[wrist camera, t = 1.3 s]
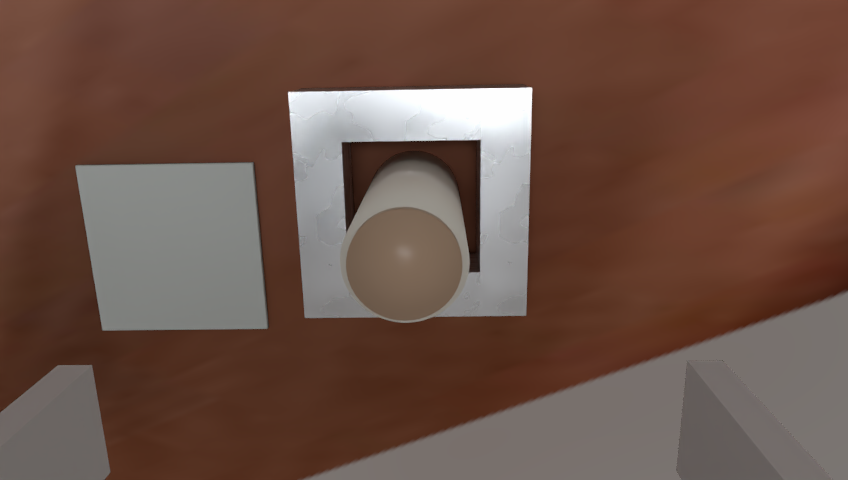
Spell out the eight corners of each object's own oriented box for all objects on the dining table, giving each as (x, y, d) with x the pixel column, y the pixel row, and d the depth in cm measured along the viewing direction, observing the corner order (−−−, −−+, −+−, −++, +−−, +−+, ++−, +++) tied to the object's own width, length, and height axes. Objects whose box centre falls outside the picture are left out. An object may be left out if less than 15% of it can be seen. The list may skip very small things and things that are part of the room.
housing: (316, 295, 39) (304, 318, 36) (302, 88, 36) (288, 92, 32) (518, 292, 39) (526, 315, 35) (523, 84, 35) (532, 87, 32)
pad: (104, 328, 40) (102, 330, 40) (78, 165, 37) (75, 165, 37) (268, 326, 40) (267, 328, 39) (253, 162, 37) (252, 163, 37)
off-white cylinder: (372, 237, 38) (341, 328, 26) (368, 151, 37) (334, 203, 24) (458, 236, 38) (470, 327, 25) (458, 150, 37) (470, 200, 24)
